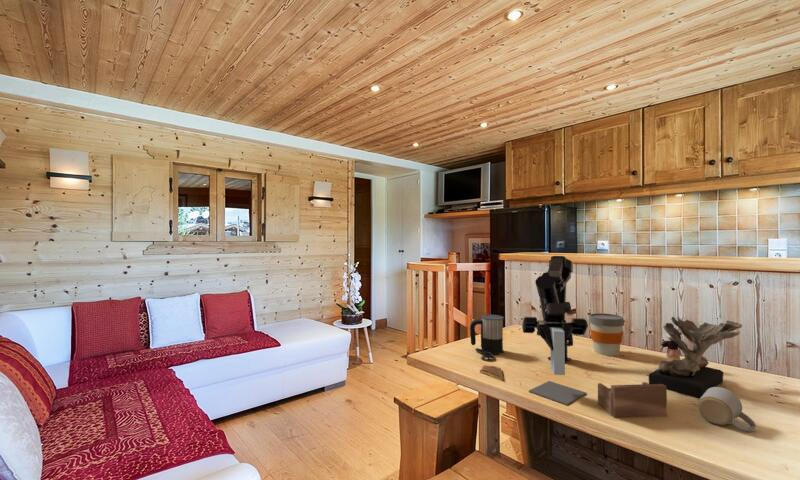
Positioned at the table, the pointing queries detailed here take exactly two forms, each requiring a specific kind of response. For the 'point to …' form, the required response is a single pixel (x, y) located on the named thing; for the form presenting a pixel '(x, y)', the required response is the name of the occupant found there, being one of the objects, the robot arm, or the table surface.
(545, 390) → the rubber mat
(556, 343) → the pale grey rectangular block
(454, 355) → the table surface
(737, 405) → the ceramic mug
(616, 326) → the reusable coffee cup
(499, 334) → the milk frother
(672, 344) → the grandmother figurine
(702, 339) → the driftwood sculpture
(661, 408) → the brown wooden box
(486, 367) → the shard
